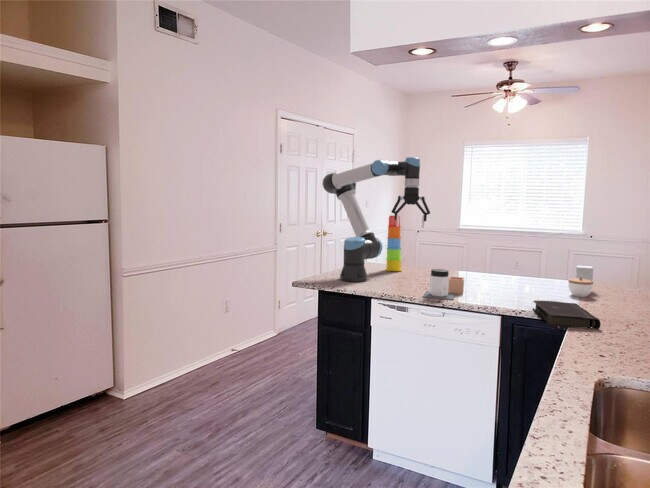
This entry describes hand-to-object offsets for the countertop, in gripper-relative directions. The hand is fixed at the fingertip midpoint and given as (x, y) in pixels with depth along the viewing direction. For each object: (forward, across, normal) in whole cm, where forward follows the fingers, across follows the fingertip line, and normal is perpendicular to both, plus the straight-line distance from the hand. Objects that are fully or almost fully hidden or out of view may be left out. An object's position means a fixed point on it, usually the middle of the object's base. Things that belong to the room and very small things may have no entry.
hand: (410, 227), depth 251 cm
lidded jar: (+31, +84, +5) cm, 90 cm away
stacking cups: (+31, -15, +38) cm, 51 cm away
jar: (+30, +19, -24) cm, 43 cm away
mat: (+31, +19, -24) cm, 43 cm away
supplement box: (+31, +88, +20) cm, 95 cm away
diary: (+31, +70, -46) cm, 89 cm away
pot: (+31, +26, -12) cm, 42 cm away
